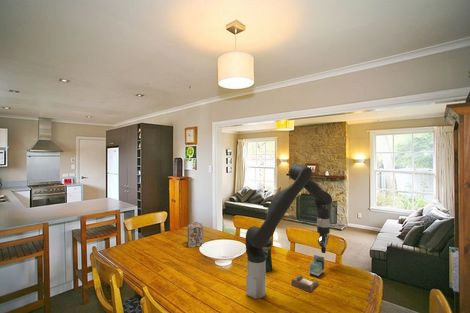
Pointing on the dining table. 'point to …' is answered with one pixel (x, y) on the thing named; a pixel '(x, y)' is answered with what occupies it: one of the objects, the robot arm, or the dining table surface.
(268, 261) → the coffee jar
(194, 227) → the decorative jar
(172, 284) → the dining table surface
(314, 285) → the bay
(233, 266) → the dining table surface
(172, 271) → the dining table surface
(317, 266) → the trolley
